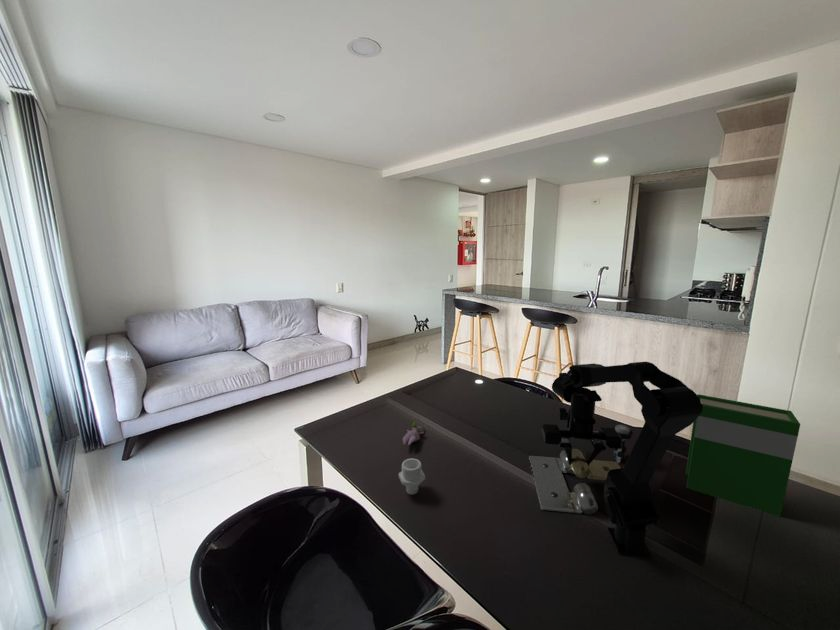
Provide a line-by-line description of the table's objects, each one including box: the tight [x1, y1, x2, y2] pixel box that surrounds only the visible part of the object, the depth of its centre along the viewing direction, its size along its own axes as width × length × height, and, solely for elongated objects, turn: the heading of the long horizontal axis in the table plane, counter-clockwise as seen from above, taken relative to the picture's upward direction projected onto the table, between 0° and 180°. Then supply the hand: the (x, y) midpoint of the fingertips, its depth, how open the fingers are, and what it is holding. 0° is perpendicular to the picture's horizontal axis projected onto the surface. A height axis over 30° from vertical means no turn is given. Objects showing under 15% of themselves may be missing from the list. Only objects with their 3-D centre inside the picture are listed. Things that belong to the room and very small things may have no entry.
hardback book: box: [685, 393, 801, 517], centre depth 87 cm, size 18×7×24 cm, turn 55°
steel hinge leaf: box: [528, 449, 599, 515], centre depth 94 cm, size 21×13×4 cm, turn 171°
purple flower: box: [402, 421, 425, 446], centre depth 117 cm, size 6×6×15 cm
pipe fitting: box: [398, 457, 426, 495], centre depth 92 cm, size 6×7×8 cm
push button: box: [612, 424, 634, 464], centre depth 104 cm, size 7×5×10 cm
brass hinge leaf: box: [571, 448, 621, 481], centre depth 92 cm, size 7×13×4 cm, turn 81°
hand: (578, 464), depth 92 cm, fingers closed on brass hinge leaf, 4 cm apart
